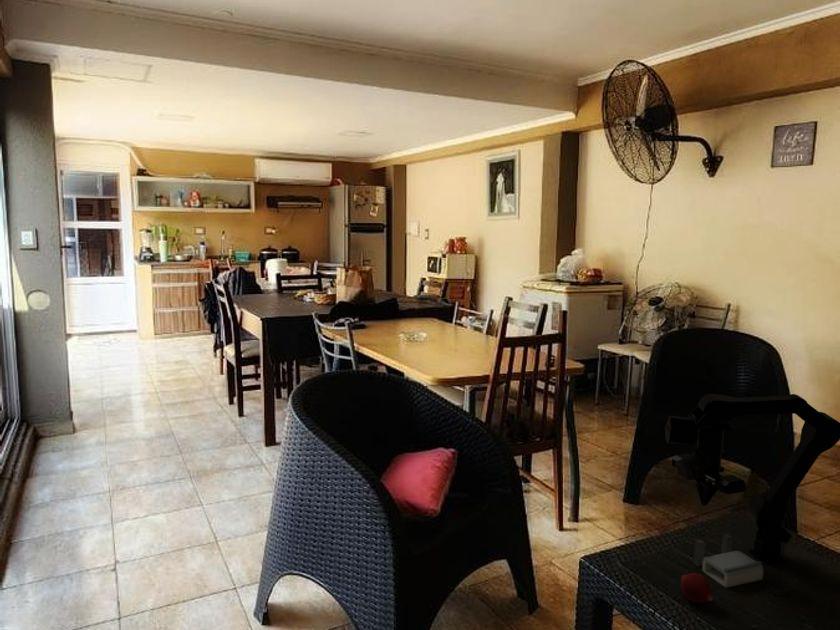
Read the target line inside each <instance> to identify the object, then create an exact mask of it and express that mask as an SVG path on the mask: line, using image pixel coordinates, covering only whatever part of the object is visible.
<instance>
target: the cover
mask: <svg viewBox="0 0 840 630" xmlns="http://www.w3.org/2000/svg"><path fill="white" fill-rule="evenodd" d="M703 561H705V562H707V563H708V564H709V565H711V566H712V567H714V568H715V569H717V570H718V571H720V572H721V573H723V574H724V575H726V576H727V577H728V576H732V575H737V574H741V573H746V572H750V571H755V570H759V569H762V568H763V567H764V566H763V565H762V564H763V563H762V562H761V561H760V560H758V561H756V560H754V559H752V558H751V557H749V556H748V555H746V554H745V553H743V552H742V551H740V550H734V551H731V552H728V553H723V554H721V553H719V554H715V555H709V556H704V559H703ZM763 569H764V568H763Z"/></svg>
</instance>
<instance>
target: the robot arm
mask: <svg viewBox="0 0 840 630" xmlns="http://www.w3.org/2000/svg"><path fill="white" fill-rule="evenodd" d="M790 414H793V415H796V416H797V417H799V419H801V420H802V422H804V423H803V425H802V427H801V432H800V437H799V439H800V440H799V443H798V445H796V447H795V449H794V450H793V452H792V453H791V455H790V456H789V457H788V460H787V461H786V462H785V464H784V465H783V467H782V468H781V469H780V471H779V472H778V475H777V476H776V477H775V479H774V480H773V482H772V483H771V485H770V486H769V487H768V489H767V490H765V491H763V492H759V491H758V490H756V491H754V493H753V495H752V497H751V499H749V500H748V501H747V502H746V503H747V505H748V506H747V510H746V512H747V514H748V516H749V518H750V519H751V521H753V523H754V524H755V526H756V527H757V528H758V529H757V531H756V532H755V538H754V541H753V548H749V549H748V552H749V553H750V554H751V555H752V556H754V557H756V558H758V559H760V560H761V561H763V562H764V563H766V564H768V565H775V564H780V563H784V562H785V563H786V562H789V560H790V558H788V556H785V555H784V552H785V544H787V543H789V541H790V540H791V538H792V535H791V533H790V532H789V531H788V529H787V528H786V527H785V526H784V524H783V523H784V521H785V517H786V513H787V505H788V503H789V501H790V499H791V497H793V495H794V493H795V492H796V490H797V489H798V487H799V486H800V484H801V483H802V481H803V480H804V479H805V477H806V475H808V473H809V472H810V469H811V468H812V467H813V465H814V464H815V463H816V460H817V459H818V458H819V457H820V455H822V454H823V453H825V452H827V451H829V450H830V449H833V447H834V446H836V444H837V443H838V442H839V441H840V421H838V420H837V419H835V418H833V417H832V416H831V415H829V414H828V413H825V412H823V411H819V410H817V409H816V408H815V407H813V405H810V404H809V403H808V401H807V400H805V399H804V398H803V397H802V396H800V395H799V394H796V393H791V394H788V395H785V394H784V395H770V396H769V395H768V396H766V395H765V396H751V397H750V396H749V397H734V396H729V395H726V394H725V395H724V394H717V393H716V394H715V393H708V394H707V393H706V394H704V395H702V396H701V397H700V398H699V401H698V404H697V406H695V407H694V409H692V410H691V412H690V413H688V417H687V416H686V417H684V416H677V415H668V420H667V421H666V425H665V427H664V438H665V441H666V443H667V444H674V445H675V444H676V445H688V446H689V445H690V446H691V445H693V444H695V443H696V442H697V443H696V446H694V447H692V449H691V453H688V452H687V453H682V454H675V455H674V456H673V457H672V458H671V459H672V460H671V466H672V467H674V468H676V473H677V475H679V476H680V477H681V476H682V477H683V478H685V480H687V481H693V483H694V484H695V487H696V490H697V494H698V498H699V501H700V504H701V505H702V506H703V507H704V506H708V505H709V503H710V501H711V500H712V499H713V497H714V496H715V495H716V493H717V492H718V491H719V492H721V493H723V494H725V495H734V494H738V493H745V492H746V490H747V489H746V487H747V482H746V481H745V480H744V479H742V478H740V477H738V476H736V475H734V474H727V475H726V474H725V475H724V474H723V472H725V467H724V466H722V459H723V458H722V457H726V456H727V455H726V454H727V452H726V451H725V450H723V448H724V446H723V445H724V436H725V432H734V431H735V429H734V428H733V427H732V425H730V424H729V422H730V421H733V420H736V419H738V418H741V417H750V416H771V415H790Z"/></svg>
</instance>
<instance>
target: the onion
mask: <svg viewBox="0 0 840 630" xmlns="http://www.w3.org/2000/svg"><path fill="white" fill-rule="evenodd" d="M680 579H681V581H680V588H681V591H682V594H683V595H684V596H685V598H686V599H688V600H689V601H691V602H692V603H698V604H704V603H706V602H712V601H713V600H714V597H713V596H712V588H711V584H710V582H709V580H708V579H706V578H705V576H703V575H702V574H699V573H695V572H692V573H688V574H683V575H682V576H681V578H680Z"/></svg>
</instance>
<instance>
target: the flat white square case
mask: <svg viewBox="0 0 840 630" xmlns="http://www.w3.org/2000/svg"><path fill="white" fill-rule="evenodd" d="M732 543H733V536H731V535H730V534H728V533H727V534H726V533H725V534H722V540H721V548H720V549H721V550H720V551H721V552H720V554H723V553H728V552H732V545H733V544H732ZM705 546H706V542H705V541H704V540H702V539H701V538H700V539H695V541H694V553H693V562H692V563H693V564H694V565H695V566H696V567H701V571H702V572H703V573H704V574H706V575H707V576H709V577H710V578H711V579H713V580H714V581H715V582H717V583H718V584H720V585H722V586H723V587H724V588H731V587H735V586H739V585H740V586H741V585H745V584H748V583H754V582H757V581H762V580H764V579H763V578H764V570H765V569H764V568H762V569H759V570H755V571H750V572H746V573H741V574H737V575H732V576H728V577H727V576H726V575H724V574H723V573H721V572H720V571H718V570H717V569H715V568H714V567H712V566H711V565H709V564H708V563H707V562H705V561H704V557H705V550H706V549H705Z"/></svg>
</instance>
